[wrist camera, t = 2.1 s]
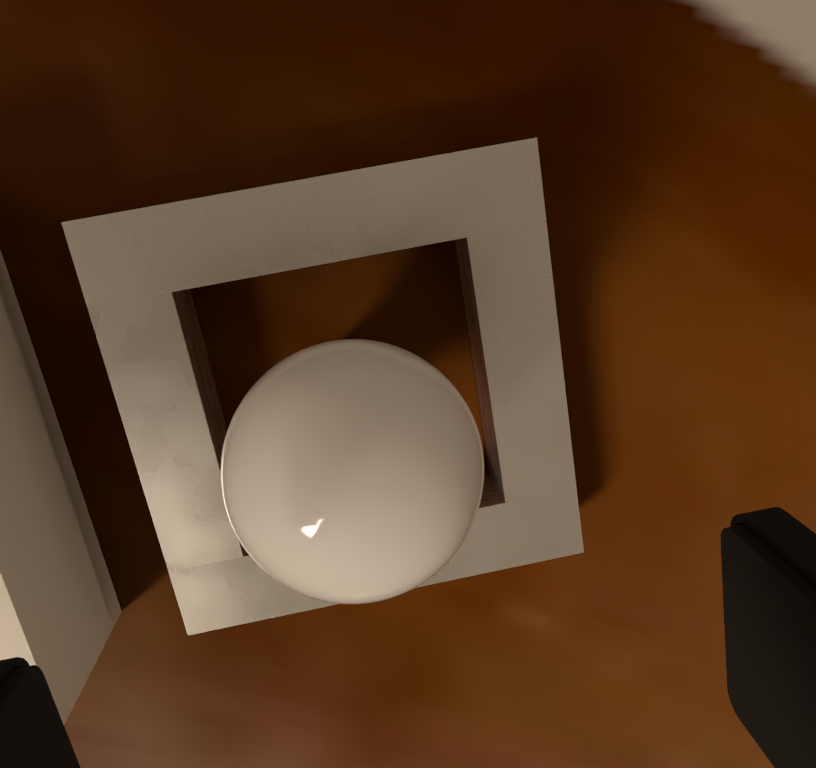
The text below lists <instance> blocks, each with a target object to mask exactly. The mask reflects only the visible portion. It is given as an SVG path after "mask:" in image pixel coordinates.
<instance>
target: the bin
mask: <svg viewBox="0 0 816 768" xmlns="http://www.w3.org/2000/svg"><path fill="white" fill-rule="evenodd" d="M121 612H122V611H121V608H120V605H119V602H118V599H117V596H116V593H115V590H114V587H113V584H112V581H111V578H110V575H109V572H108V569H107V566H106V563H105V560H104V557H103V554H102V551H101V548H100V545H99V542H98V539H97V536H96V533H95V530H94V527H93V524H92V521H91V518H90V515H89V512H88V509H87V506H86V503H85V500H84V497H83V494H82V491H81V488H80V485H79V482H78V479H77V476H76V473H75V470H74V467H73V464H72V461H71V458H70V455H69V452H68V449H67V446H66V443H65V440H64V437H63V434H62V431H61V428H60V425H59V423H58V420H57V417H56V414H55V411H54V408H53V405H52V402H51V399H50V396H49V393H48V390H47V387H46V384H45V381H44V378H43V375H42V372H41V369H40V366H39V363H38V360H37V357H36V354H35V351H34V348H33V345H32V342H31V339H30V336H29V333H28V330H27V327H26V324H25V321H24V318H23V315H22V312H21V309H20V306H19V303H18V300H17V297H16V294H15V291H14V288H13V285H12V282H11V279H10V276H9V273H8V270H7V267H6V264H5V261H4V258H3V255H2V252H1V249H0V660H4V659H10V658H15V657H21V658H24V659H25V660H26V661H27V662H28V663H29V665H30V666H32V665H35V666H38V667H39V668H40V669H41V670H42V672H43V674H44V676H45V678H46V681H47V683H48V686H49V689H50V691H51V694H52V696H53V699H54V701H55V704H56V707H57V709H58V712H59V714H60V717H61V719H62V722H63V725H64V724H65V722H66V720H67V718H68V716H69V714H70V712H71V710H72V709H73V707H74V705H75V703H76V701H77V699H78V697H79V695H80V693H81V691H82V689H83V687H84V685H85V683H86V681H87V679H88V677H89V675H90V673H91V671H92V669H93V667H94V665H95V663H96V661H97V659H98V657H99V655H100V653H101V651H102V649H103V647H104V645H105V643H106V641H107V639H108V637H109V635H110V633H111V631H112V630H113V628H114V626H115V624H116V622H117V620H118V618H119V616H120V614H121Z"/></svg>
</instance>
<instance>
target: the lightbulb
mask: <svg viewBox="0 0 816 768" xmlns="http://www.w3.org/2000/svg"><path fill="white" fill-rule="evenodd" d="M483 484H484V456H483V448H482V443H481V438H480V434H479V431H478V428H477V425H476V422H475V420H474V417H473V415H472V413H471V411H470V409H469V407H468V405H467V404H466V402H465V400H464V399H463V397H462V396H461V394H460V393H459V392H458V390H457V389H456V388H455V387H454V385H453V384H452V383H451V382H450V381H449V380H448V379H447V378H446V377H445V376H444V375H443V374H442V373H441V372H440V371H439V370H438V369H436V368H435V367H434V366H433V365H431V364H430V363H428V362H427V361H426V360H424V359H422V358H421V357H419V356H417V355H416V354H414V353H412V352H410V351H407V350H405V349H403V348H400V347H398V346H395V345H392V344H388V343H384V342H380V341H374V340H366V339H341V340H333V341H328V342H323V343H319V344H316V345H312V346H310V347H307V348H304V349H302V350H300V351H297V352H295V353H293V354H292V355H290V356H288V357H286V358H284V359H283V360H281V361H280V362H278V363H277V364H275V365H274V366H273V367H272V368H270V369H269V370H268V371H267V372H266V373H264V374H263V375H262V376H261V377H260V378H259V379H258V380H257V381H256V382H255V384H254V385H253V386H252V387H251V388H250V390H249V391H248V392H247V393H246V395H245V396H244V398H243V399H242V401H241V402H240V404H239V406H238V407H237V409H236V411H235V413H234V415H233V417H232V420H231V422H230V425H229V427H228V430H227V433H226V436H225V440H224V445H223V450H222V457H221V489H222V495H223V501H224V505H225V509H226V512H227V516H228V518H229V521H230V524H231V526H232V528H233V530H234V532H235V534H236V536H237V538H238V540H239V541H240V543H241V545H242V546H243V548H244V549H245V550H246V552H247V553H248V554H249V556H250V557H251V558H252V559H253V560H254V561H255V563H256V564H257V565H258V566H259V567H260V568H261V569H262V570H264V571H265V572H266V573H267V574H268V575H269V576H271V577H272V578H273V579H275V580H276V581H278V582H279V583H281V584H282V585H284V586H286V587H287V588H289V589H291V590H293V591H295V592H297V593H299V594H302V595H304V596H307V597H310V598H313V599H317V600H320V601H325V602H331V603H338V604H364V603H372V602H377V601H382V600H386V599H389V598H393V597H395V596H398V595H401V594H403V593H405V592H407V591H410V590H412V589H413V588H415V587H417V586H419V585H420V584H422V583H424V582H425V581H427V580H428V579H429V578H431V577H432V576H433V575H435V574H436V573H437V572H438V571H439V570H440V569H442V568H443V567H444V566H445V565H446V564H447V563H448V562H449V560H450V559H451V558H452V557H453V556H454V555H455V553H456V552H457V551H458V549H459V548H460V546H461V545H462V543H463V542H464V540H465V539H466V537H467V535H468V533H469V531H470V529H471V527H472V525H473V523H474V520H475V518H476V515H477V512H478V509H479V506H480V502H481V497H482V492H483Z"/></svg>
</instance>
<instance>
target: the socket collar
mask: <svg viewBox="0 0 816 768" xmlns="http://www.w3.org/2000/svg"><path fill="white" fill-rule="evenodd" d="M61 224H62V227H63V230H64V233H65V237H66V240H67V243H68V246H69V250H70V253H71V256H72V259H73V263H74V266H75V269H76V272H77V276H78V279H79V282H80V285H81V289H82V292H83V295H84V298H85V302H86V305H87V308H88V311H89V315H90V318H91V321H92V325H93V328H94V331H95V334H96V338H97V341H98V344H99V347H100V351H101V354H102V357H103V360H104V364H105V367H106V370H107V373H108V377H109V380H110V383H111V386H112V390H113V393H114V396H115V399H116V403H117V406H118V409H119V412H120V416H121V419H122V422H123V425H124V429H125V432H126V435H127V438H128V442H129V445H130V448H131V452H132V455H133V458H134V461H135V465H136V468H137V471H138V474H139V478H140V481H141V484H142V487H143V491H144V494H145V497H146V500H147V504H148V507H149V510H150V513H151V517H152V520H153V523H154V526H155V530H156V533H157V536H158V539H159V543H160V546H161V549H162V552H163V556H164V559H165V562H166V565H167V569H168V572H169V575H170V578H171V582H172V585H173V588H174V592H175V595H176V598H177V601H178V605H179V608H180V611H181V614H182V618H183V621H184V624H185V627H186V631H187V634H188V635H193V634H197V633H202V632H207V631H212V630H216V629H221V628H226V627H231V626H235V625H240V624H245V623H250V622H255V621H259V620H264V619H269V618H274V617H278V616H283V615H288V614H293V613H297V612H302V611H307V610H312V609H316V608H321V607H326V606H331V605H335V604H338V603H331V602H325V601H320V600H317V599H313V598H310V597H307V596H304V595H302V594H299V593H297V592H295V591H293V590H291V589H289V588H287V587H286V586H284V585H282V584H281V583H279V582H278V581H276V580H275V579H273V578H272V577H271V576H269V575H268V574H267V573H266V572H265V571H264V570H262V569H261V568H260V567H259V566H258V565H257V564H256V563H255V561H254V560H253V559H252V558H251V557H250V556H249V554H248V553H247V552H246V550H245V549H244V548H243V546H242V545H241V543H240V541H239V540H238V538H237V536H236V534H235V532H234V530H233V528H232V526H231V524H230V521H229V518H228V516H227V512H226V509H225V505H224V501H223V495H222V489H221V457H222V450H223V445H224V440H225V436H226V433H227V426H226V422H225V418H224V415H223V411H222V407H221V403H220V399H219V396H218V392H217V388H216V384H215V380H214V377H213V373H212V369H211V365H210V361H209V357H208V354H207V350H206V346H205V342H204V338H203V335H202V331H201V327H200V323H199V319H198V316H197V312H196V308H195V304H194V300H193V296H192V293H191V288H197V287H202V286H207V285H213V284H218V283H224V282H229V281H234V280H240V279H245V278H251V277H256V276H261V275H267V274H272V273H278V272H283V271H288V270H294V269H299V268H305V267H310V266H315V265H321V264H326V263H332V262H337V261H342V260H348V259H353V258H359V257H364V256H369V255H375V254H380V253H386V252H391V251H397V250H402V249H407V248H413V247H418V246H424V245H429V244H434V243H440V242H445V241H451V240H455V246H456V253H457V260H458V266H459V273H460V280H461V286H462V293H463V300H464V306H465V313H466V319H467V326H468V333H469V339H470V346H471V353H472V359H473V366H474V373H475V379H476V386H477V392H478V399H479V406H480V412H481V419H482V426H483V432H484V439H485V446H486V452H487V459H488V465H489V472H490V474H488V475H484V484H483V492H482V497H481V502H480V506H479V509H478V512H477V515H476V518H475V520H474V523H473V525H472V527H471V529H470V531H469V533H468V535H467V537H466V539H465V540H464V542H463V543H462V545H461V546H460V548H459V549H458V551H457V552H456V553H455V555H454V556H453V557H452V558H451V559H450V560H449V562H448V563H447V564H446V565H445V566H444V567H443V568H442V569H440V570H439V571H438V572H437V573H436V574H435V575H433V576H432V577H431V578H429V579H428V580H427V581H425V582H424V583H422V584H420V585H419V586H417V587H421V586H426V585H431V584H435V583H440V582H445V581H450V580H454V579H459V578H464V577H469V576H473V575H478V574H483V573H488V572H492V571H497V570H502V569H507V568H512V567H516V566H521V565H526V564H531V563H535V562H540V561H545V560H550V559H554V558H559V557H564V556H569V555H573V554H578V553H583V552H584V549H583V541H582V532H581V523H580V514H579V505H578V496H577V487H576V478H575V470H574V461H573V452H572V443H571V434H570V425H569V416H568V408H567V399H566V390H565V381H564V372H563V363H562V354H561V345H560V337H559V328H558V319H557V310H556V301H555V292H554V283H553V274H552V266H551V257H550V248H549V239H548V230H547V221H546V212H545V203H544V195H543V186H542V177H541V168H540V159H539V150H538V141H537V137H536V138H531V139H525V140H519V141H514V142H508V143H503V144H497V145H491V146H486V147H480V148H475V149H469V150H463V151H458V152H452V153H447V154H441V155H435V156H430V157H424V158H419V159H413V160H407V161H402V162H396V163H391V164H385V165H379V166H374V167H368V168H363V169H357V170H351V171H346V172H340V173H335V174H329V175H323V176H318V177H312V178H307V179H301V180H295V181H290V182H284V183H279V184H273V185H267V186H262V187H256V188H251V189H245V190H239V191H234V192H228V193H223V194H217V195H211V196H206V197H200V198H195V199H189V200H183V201H178V202H172V203H167V204H161V205H155V206H150V207H144V208H139V209H133V210H127V211H122V212H116V213H111V214H105V215H99V216H94V217H88V218H83V219H77V220H71V221H66V222H61ZM415 588H416V587H415Z"/></svg>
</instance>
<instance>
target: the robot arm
mask: <svg viewBox="0 0 816 768" xmlns="http://www.w3.org/2000/svg"><path fill="white" fill-rule="evenodd" d="M721 558H722V580H723V602H724V624H725V646H726V668H727V688H728V694H729V698H730V701H731V704H732V706H733V709H734V711H735V713H736V714H737V716H738V718H739V719H740V721H741V722H742V723H743V725H744V726H745V727H746V729H747V730H748V732H749V733H750V734H751V736H752V737H753V738H754V740H755V741H756V743H757V744H758V745H759V747H760V748H761V749H762V751H763V752H764V754H765V755H766V756H767V758H768V759H769V760H770V762H771V763H772V765H773V766H774V767H775V768H816V534H815V533H814V532H813V531H811V530H810V529H809V528H807V527H806V526H805V525H803V524H802V523H801V522H799V521H798V520H797V519H795V518H794V517H793V516H791V515H790V514H789V513H787V512H786V511H785V510H783V509H781V508H779V507H773V508H768V509H763V510H758V511H753V512H748V513H743V514H738V515H735V516H734V517H733V519H732V521H731V527H728V528H724V529H723V530H722V533H721ZM0 768H80V766H79V763H78V761H77V758H76V755H75V753H74V750H73V748H72V745H71V743H70V740H69V737H68V735H67V732H66V730H65V727H64V725H63V722H62V719H61V717H60V714H59V712H58V709H57V707H56V704H55V701H54V699H53V696H52V694H51V691H50V689H49V686H48V683H47V681H46V678H45V676H44V674H43V672H42V670H41V669H40V668H39V667H38V666H35V665H32V666H30V665H29V663H28V662H27V661H26V660H25V659H24V658H21V657H15V658H10V659H4V660H0Z"/></svg>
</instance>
